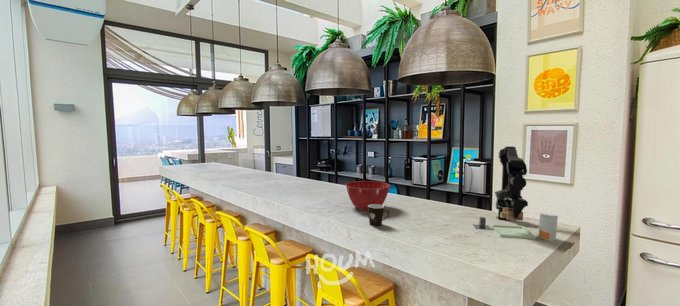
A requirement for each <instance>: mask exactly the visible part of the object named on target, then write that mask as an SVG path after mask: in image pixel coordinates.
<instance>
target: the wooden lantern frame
mask: <svg viewBox="0 0 680 306" xmlns="http://www.w3.org/2000/svg"><path fill="white" fill-rule="evenodd" d="M500 217H501V218H506V219H507V220H506V221H508V220H511V221H523V220H524V212H523V210H522V211H521V213H520V214H519V216H518V217H517V218H514V210H513V208H503V212H500Z"/></svg>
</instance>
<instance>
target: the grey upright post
mask: <svg viewBox="0 0 680 306" xmlns="http://www.w3.org/2000/svg"><path fill="white" fill-rule="evenodd" d="M486 220H487V218H486V217H484V216H479V222H478V224H476V223H475V224H472V226H473V227H474V229H475V230H481V231H482V230H483V231H493V229H492V228H491V227H490V225H488V224H487V225H486Z"/></svg>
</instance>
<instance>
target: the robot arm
mask: <svg viewBox="0 0 680 306" xmlns="http://www.w3.org/2000/svg"><path fill="white" fill-rule="evenodd" d="M498 159H499V163H501V165H502V168H501V169H502V173H501V189H500V190H497V191H495V192H494V194H495V197H496V201H495V208H496V210H498V212H497V213H498V214H497V215H498V216H495V218H496V219H498V220H499V221H512V220H507V219H506V218H501V217H500V212H503V208H513V210H514V218H517V217H518V216H519V214H520V213H521V211H522V212H523V210H524V209H525V208H526V207H528V206H529V205H528V204H529V202H528V201H527V200H526V199H525V198H523V196H522V191H524V190H523V189H524V188H525V187H526V186H527V179H526V178H524V177H523V176H527V173H528V168H527V164H526V162H525V161H524V159H523V158H521V157H519V155H518V151H517V149H516V146H504V148H501V149H500V150H499V152H498Z"/></svg>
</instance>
